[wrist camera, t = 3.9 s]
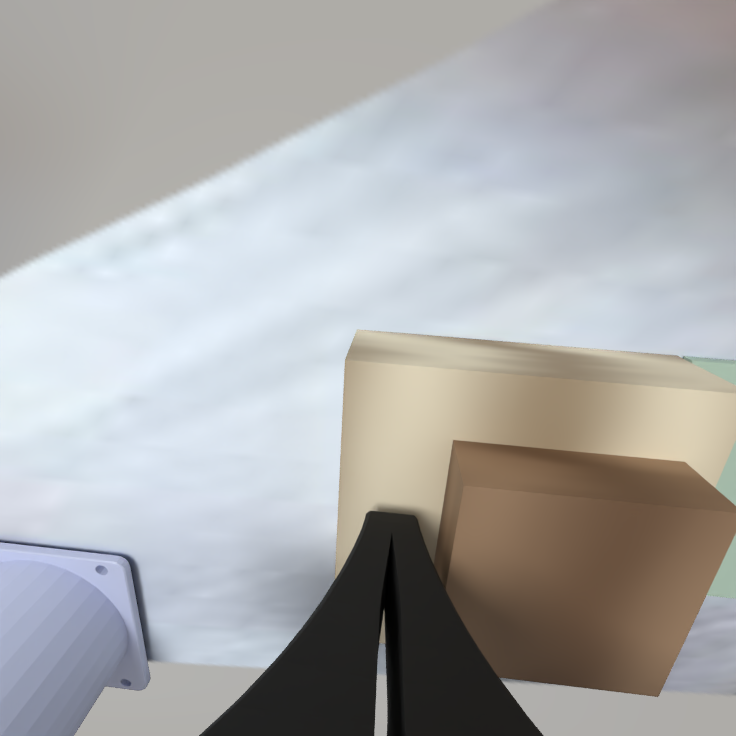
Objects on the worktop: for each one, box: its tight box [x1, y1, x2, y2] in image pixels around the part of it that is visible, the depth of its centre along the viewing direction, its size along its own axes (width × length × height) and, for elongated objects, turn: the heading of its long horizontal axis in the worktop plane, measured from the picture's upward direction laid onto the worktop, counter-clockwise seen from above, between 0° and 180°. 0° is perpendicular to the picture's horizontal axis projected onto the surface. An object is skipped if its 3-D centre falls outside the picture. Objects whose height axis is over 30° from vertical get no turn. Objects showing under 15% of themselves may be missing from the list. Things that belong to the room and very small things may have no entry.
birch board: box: [335, 330, 736, 644], centre depth 13 cm, size 10×10×3 cm
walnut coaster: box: [434, 440, 736, 697], centre depth 11 cm, size 6×6×2 cm
